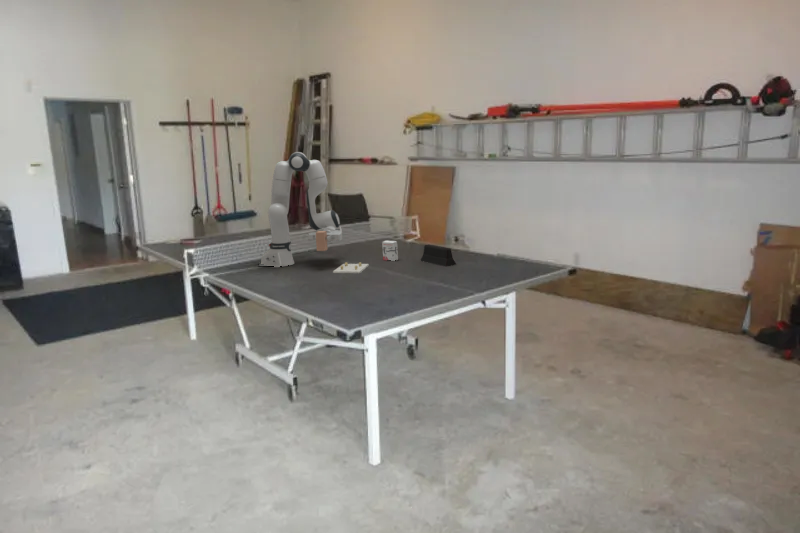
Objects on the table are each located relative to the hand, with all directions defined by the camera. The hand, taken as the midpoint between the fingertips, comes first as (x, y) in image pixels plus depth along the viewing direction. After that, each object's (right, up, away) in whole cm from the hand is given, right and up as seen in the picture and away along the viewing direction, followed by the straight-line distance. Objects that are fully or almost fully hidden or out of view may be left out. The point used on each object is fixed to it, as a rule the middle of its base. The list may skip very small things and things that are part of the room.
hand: (321, 238), depth 334 cm
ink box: (+40, -13, +22) cm, 48 cm away
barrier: (+69, -15, +10) cm, 71 cm away
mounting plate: (+18, -18, +1) cm, 25 cm away
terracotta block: (0, -7, +2) cm, 7 cm away
